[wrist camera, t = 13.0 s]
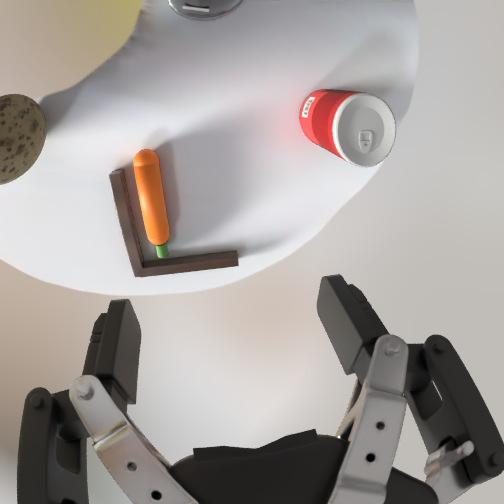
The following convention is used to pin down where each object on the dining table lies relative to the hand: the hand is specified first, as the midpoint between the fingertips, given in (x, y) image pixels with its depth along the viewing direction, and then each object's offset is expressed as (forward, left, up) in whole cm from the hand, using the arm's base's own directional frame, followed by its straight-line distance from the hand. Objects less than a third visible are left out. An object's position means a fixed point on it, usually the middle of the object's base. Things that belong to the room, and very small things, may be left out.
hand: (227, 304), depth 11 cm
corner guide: (+9, -5, -27) cm, 29 cm away
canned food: (-4, +16, -27) cm, 32 cm away
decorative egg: (-8, -24, -27) cm, 37 cm away
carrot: (+5, -8, -27) cm, 28 cm away
